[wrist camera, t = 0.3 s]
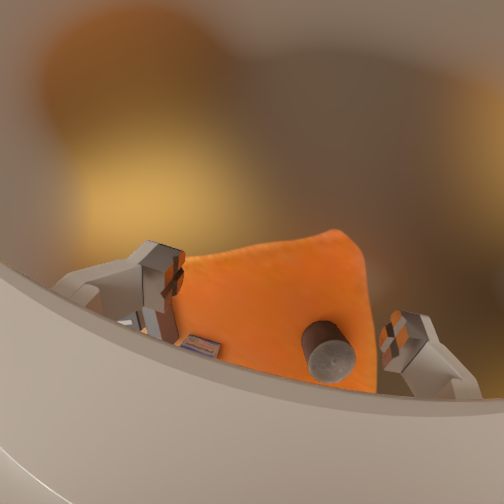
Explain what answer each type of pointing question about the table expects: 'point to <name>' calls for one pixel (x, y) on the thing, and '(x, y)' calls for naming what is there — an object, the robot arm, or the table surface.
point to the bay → (161, 324)
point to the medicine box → (201, 346)
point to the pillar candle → (327, 352)
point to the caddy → (134, 320)
